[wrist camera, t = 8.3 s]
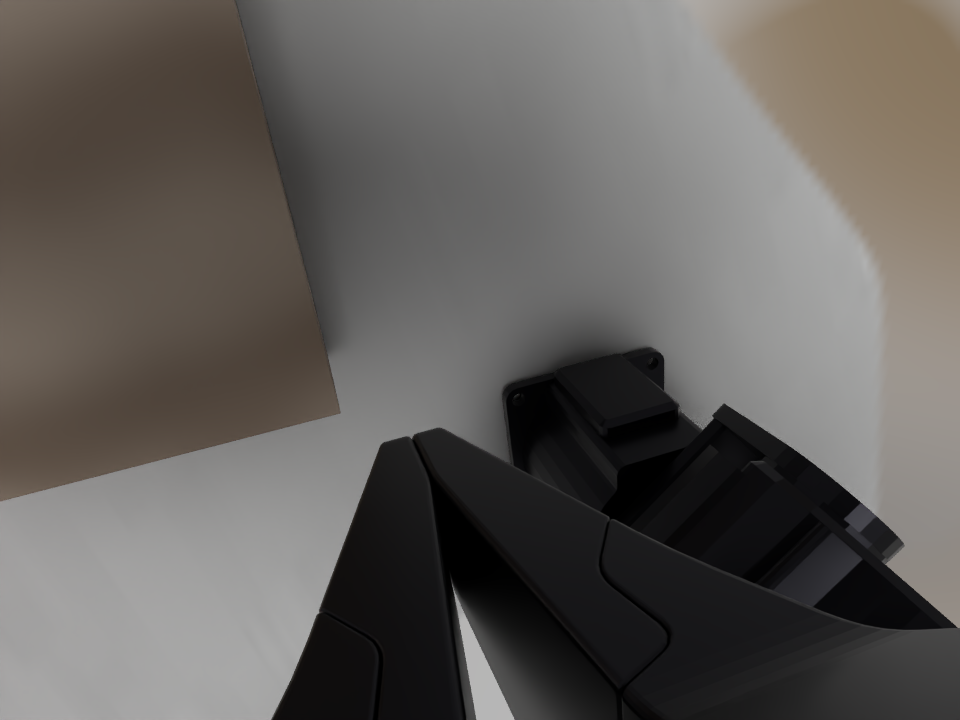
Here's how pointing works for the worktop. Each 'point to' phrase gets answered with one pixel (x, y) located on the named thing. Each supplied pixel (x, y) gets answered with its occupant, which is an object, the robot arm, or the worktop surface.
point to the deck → (142, 244)
